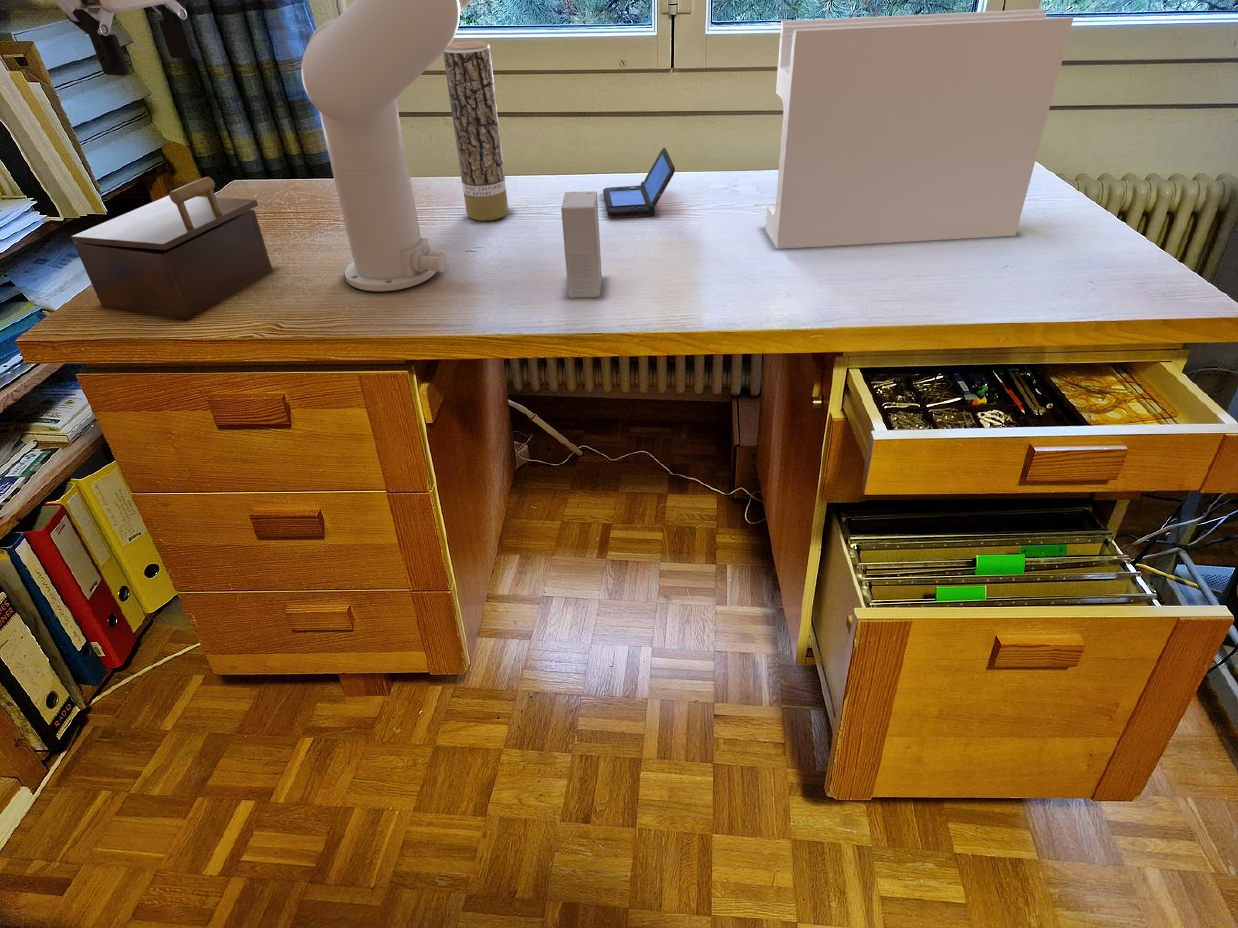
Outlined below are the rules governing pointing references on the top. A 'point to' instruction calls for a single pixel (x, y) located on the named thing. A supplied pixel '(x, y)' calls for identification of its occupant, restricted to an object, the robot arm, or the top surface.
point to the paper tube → (476, 128)
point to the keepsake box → (179, 270)
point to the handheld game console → (641, 191)
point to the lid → (168, 219)
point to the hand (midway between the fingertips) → (151, 66)
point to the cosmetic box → (582, 244)
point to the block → (911, 125)
